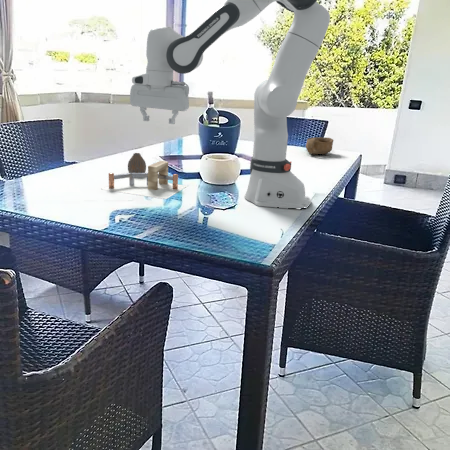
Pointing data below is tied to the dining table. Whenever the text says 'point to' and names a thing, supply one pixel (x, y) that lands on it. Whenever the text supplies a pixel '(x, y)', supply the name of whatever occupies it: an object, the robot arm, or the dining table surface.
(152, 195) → the board
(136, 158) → the vase
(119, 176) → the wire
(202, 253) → the dining table surface
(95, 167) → the dining table surface
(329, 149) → the bowl
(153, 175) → the wooden arch
